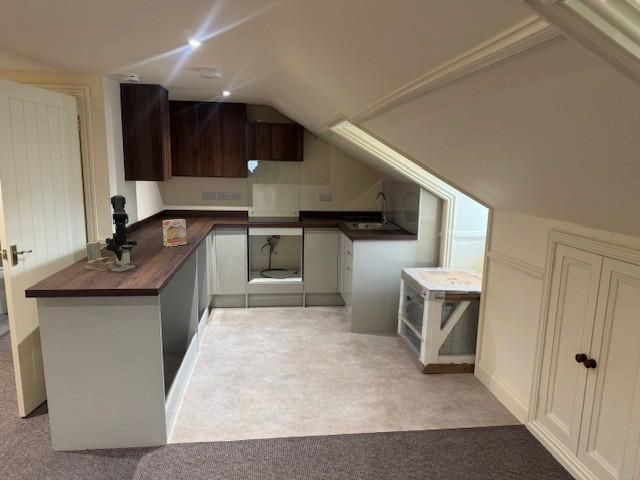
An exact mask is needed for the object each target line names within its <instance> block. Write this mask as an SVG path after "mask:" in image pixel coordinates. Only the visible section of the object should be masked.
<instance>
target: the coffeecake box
mask: <svg viewBox="0 0 640 480" xmlns="http://www.w3.org/2000/svg"><path fill="white" fill-rule="evenodd" d="M186 221H187V220H186V219H182V218H177V219H165V220H162V235H163V247H164V246H167V247H168V246H177V245H183V244H187V245H188V243H187V225H186V224H187V223H186ZM167 247H166V248H167Z"/></svg>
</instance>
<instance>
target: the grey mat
mask: <svg viewBox="0 0 640 480" xmlns="http://www.w3.org/2000/svg"><path fill="white" fill-rule="evenodd" d="M134 268H136V265H129V264H126V265H125V266H121V267H118V268H115V269H112V270H111V271H112V272H124V271H126V270H130V269H134Z"/></svg>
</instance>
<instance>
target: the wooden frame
mask: <svg viewBox="0 0 640 480" xmlns="http://www.w3.org/2000/svg"><path fill="white" fill-rule="evenodd" d="M125 265H127V264H125ZM125 265H122V264H117V262H116V257H108V256H107V257H105V256H104V257H101V258H100V259H96V260H92V261H89V262H88V261H85V262H84V270H87V271H96V272H97V271H98V272H99V271H100V272H108V271H112V269H115V268H119V267H122V266H125Z"/></svg>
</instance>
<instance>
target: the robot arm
mask: <svg viewBox="0 0 640 480" xmlns="http://www.w3.org/2000/svg"><path fill="white" fill-rule="evenodd" d="M109 199H110V205H111V207H112V209H113V213H112V214H111V216H112V225H114V230H115V234H113V238H110V237H108V238H105V245H106V247H105V249H106V251H111V252H114V254H115V257H116V256H117V258H118V260H119V261H121V258H122V251H123V250H122V249H129V255H130V254H131V252H132V250H133V248H134V247H135V246H138V242H137V241H136V239H135V240H133V239H128V237H129V234H127V233H128V229H127V225H128V224H129V222H130V221H129V220H130V219H129V214H128V213H126V209H125V207H126V206H125V205H127V202H126V201H127V200H126V197H125V196H123V195H117V194H116V195H112V196H111V197H110V198H109Z"/></svg>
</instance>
